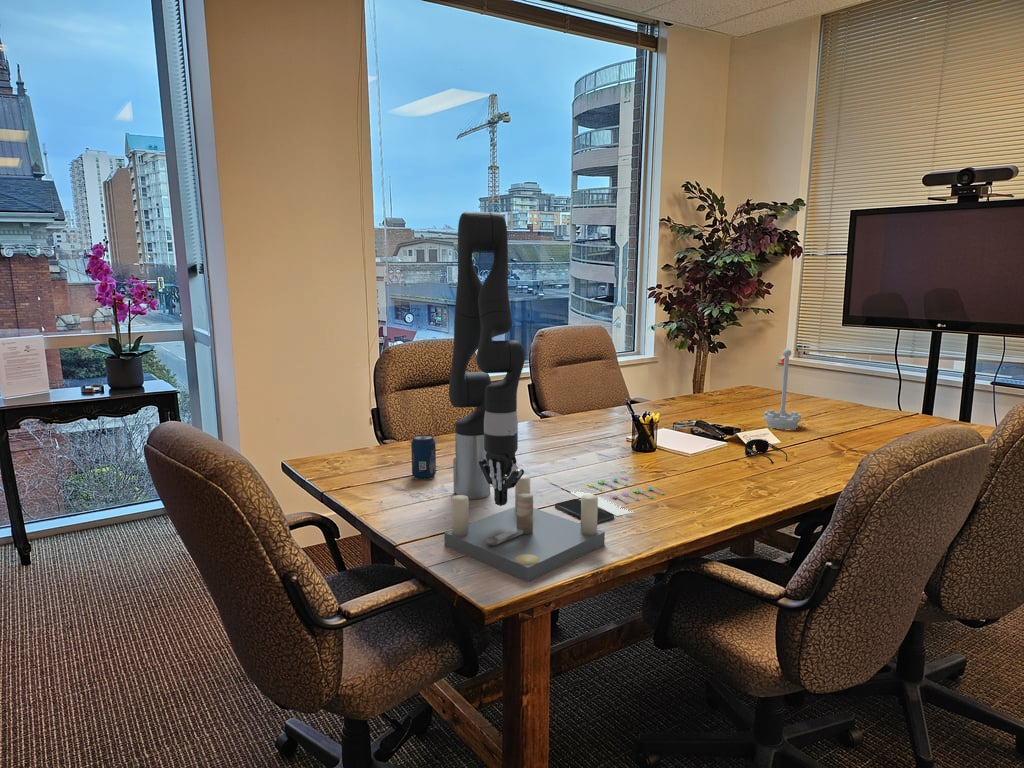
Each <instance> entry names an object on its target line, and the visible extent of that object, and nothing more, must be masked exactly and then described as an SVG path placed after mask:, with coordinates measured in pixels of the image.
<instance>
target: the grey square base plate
mask: <svg viewBox="0 0 1024 768" xmlns="http://www.w3.org/2000/svg"><path fill="white" fill-rule="evenodd" d="M514 490H515V491H514V506H513V507H511V508H508V509H505V510H502V511H500V512H497V513H494V514H491V515H489V516H485V517H484V518H481V519H478V520H475V521H473V522H470V521H469V516H470V515H469V499H468V496H465V495H453V496H452V497H451V529H450V530H447V531H445V532H444V536H443V538H444V546H445V547H448V548H450V549H452V550H454V551H457V552H459V553H460V554H463V555H465V556H467V557H469V558H472V559H474V560H477V561H479V562H481V563H484V564H486V565H488V566H491V567H493V568H495V569H497V570H500V571H502V572H504V573H506V574H509V575H511V576H513V577H515V578H518V579H520V580H522V581H524V582H527V583H529V582H531V581H533V580H535V579H537V578H539V577H541V576H543V575H545V574H548V573H550V572H551V570H552V571H553V569H554V570H556V569H558V568H560V567H562V566H564V565H566V564H568V563H570V562H572V561H574V560H576V559H578V558H580V557H582V556H584V555H586V554H588V553H591V552H592V550H593V551H595V550H596V549H599V548H600V547H603V546H604V545H605V542H606V541H605V539H606V538H605V534H606V532H605V531H604V530H600V529H599V528H598V524H597V513H598V508H599V507H598V497H599V496H598V495H595V494H593V495H583V496H582V497H581V498H580V500H581V520H580V522H576V521H574V520H570V519H567V518H565V517H561V516H559V515H556V514H553V513H550V512H546V511H543V510H540V509H538V508H535V507H533V532H531V533H528V534H521V535H518V536H516V537H514V538H511V539H509V540H506V541H504V542H501V543H499V544H497V545H495V546H489V545H487V538H490V537H495V536H498V535H500V534H503V533H505V532H508V531H510V530H513V529H516V528H517V495H519V494H524V493H525V494H531V476H530V475H527V474H523V475H522V477H521V478H520V480H519V481H518V482H517V484H516V485H515V487H514ZM597 496H598V497H597ZM469 522H470V523H469ZM598 547H599V548H598ZM594 549H595V550H594ZM590 551H591V552H590ZM581 555H582V556H581ZM579 556H580V557H579ZM577 557H578V558H577ZM575 558H576V559H575ZM573 559H574V560H573ZM571 560H572V561H571ZM569 561H570V562H569ZM567 562H568V563H567ZM565 563H566V564H565ZM563 564H564V565H563ZM561 565H562V566H561ZM559 566H560V567H559ZM557 567H558V568H557ZM555 568H556V569H555ZM549 571H550V572H549ZM547 572H548V573H547Z"/></svg>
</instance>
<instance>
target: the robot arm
mask: <svg viewBox="0 0 1024 768" xmlns="http://www.w3.org/2000/svg"><path fill="white" fill-rule="evenodd" d="M457 227H458V228H457V282H456V293H455V294H456V295H455V305H454V322H453V327H454V328H453V349H452V350H453V351H452V359H451V368H450V374H449V383H448V398H449V403H450V404H451V405H452V407H454V408H462V409H464V408H475V409H474V410H473V411H472V412H471V413H469V414H468V415H466V416H463V417H461V418H460V419H457V421H456V422H455V425H454V432H455V436H454V437H455V438H454V439H455V440H454V441H455V457H454V458H453V460H452V461H453V462H452V465H453V492H454V493H455V494H456V495H465V496H468V500H469V499H470V500H476V499H477V500H478V499H482V498H483V497H484V498H486V497H488V496H490V495H491V486H492V488H493V490H494V494H493V495H494V504H495V505H497V506H499V507H502V506H505V505H506V504H507V503H508V489H509V490H510V489H512V488H515V485H516V484H517V482H518V481H519V480H520V478H521V477H522V475H525V470H524V469H523V468H519V467H518V465H517V458H516V453H517V452H518V448H519V447H518V446H519V444H518V441H519V440H518V439H519V437H518V436H519V431H518V429H519V428H518V427H519V419H518V413H517V412H518V411H517V408H518V406H517V403H518V399H517V397H518V387H519V383H520V378H521V375H522V371H523V369H524V365H525V361H526V350H525V347H524V346H523V344H522V343H521V342H520V341H518V340H515V339H510V340H509V339H507V340H493V338H494V337H498V336H502V335H504V334H507V333H508V332H510V331H511V329H512V327H513V318H512V312H511V310H512V309H511V305H510V304H511V303H510V298H509V297H510V296H509V279H508V278H509V250H508V249H509V248H508V247H509V244H508V243H509V241H508V240H509V239H508V236H509V235H508V227H507V221H506V219H505V217H504V215H503V214H502V213H500V212H493V211H492V212H491V211H489V212H488V211H465V212H463V213H461V215H460V217H459V219H458V225H457ZM474 253H489V254H490V253H493V262H492V267H491V268H490V271H489V272H488V275H487V276H486V278H485V280H484V281H483V283H482V281H481V279H480V277H479V276H478V273H477V272H476V269H475V266H474V262H473V255H474ZM475 353H476V365H477V367H478V368H479V369H480V370H481V371H467V368H468V365H469V363H470V361H471V359H472V357H473V355H474V354H475ZM501 373H503V374H504V373H506V374H505V376H504V377H503V379H501V380H500V381H496V382H492V380H491V379H492V378H491V377H490V374H501ZM456 495H455V496H456Z"/></svg>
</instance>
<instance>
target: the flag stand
mask: <svg viewBox="0 0 1024 768" xmlns="http://www.w3.org/2000/svg"><path fill="white" fill-rule="evenodd" d="M782 355H783V356H784V358H782V359H781V360H780V363H782V365H783V372H782V373H783V375H782V390H781V400H780V401H781V404H780V409H779V410H778V412H775V410H774V409H768V410H767V411H764V412H763V413H764V415H763V417H764V418H763V419H764V420H765V421H766V425H767V426H769V427H772V428H778V429H795V430H797V429H798V424H799V423H800V422H802V421H801V420H802V414H801V413H799V412H797V411H793V410H792V411H790V413H789V412H787V410H786V402H787V401H786V400H787V389H788V375H789V361H790V356H791V355H792V351H791V350H790V349H789V348H785V349H784V350H783V351H782ZM767 426H766V427H767ZM769 427H768V428H769ZM772 428H771V429H772ZM796 428H797V429H796Z"/></svg>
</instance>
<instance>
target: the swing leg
mask: <svg viewBox="0 0 1024 768" xmlns="http://www.w3.org/2000/svg"><path fill="white" fill-rule="evenodd" d="M533 508H534V495H533V494H531V493H530V494H525V493H524V494H519V495H517V528H516V529H513V530H510V531H508V532H505V533H503V534H500V535H498V536H495V537H490V538H487V545H489V546H495V545H497V544H499V543H501V542H504V541H506V540H509V539H511V538H514V537H516V536H518V535H521V534H528V533H531V532H533Z"/></svg>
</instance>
